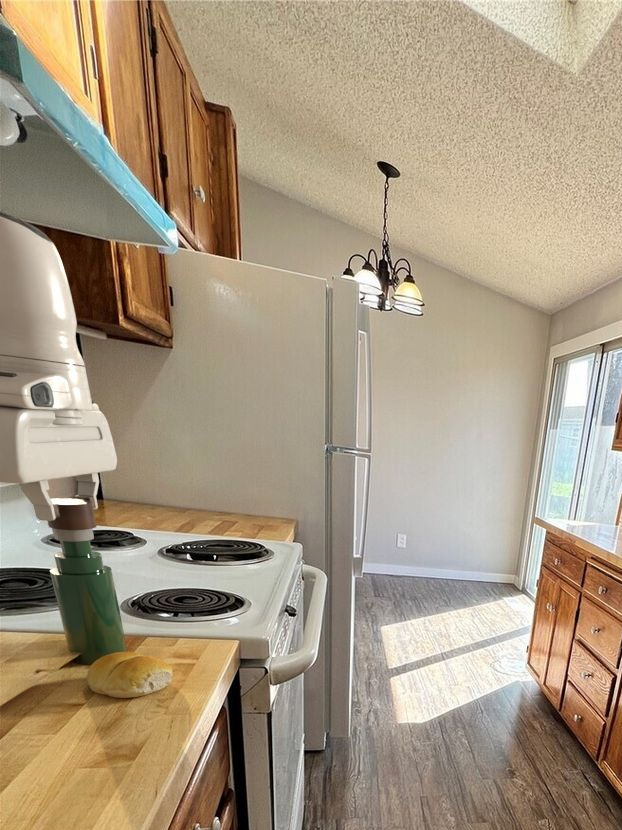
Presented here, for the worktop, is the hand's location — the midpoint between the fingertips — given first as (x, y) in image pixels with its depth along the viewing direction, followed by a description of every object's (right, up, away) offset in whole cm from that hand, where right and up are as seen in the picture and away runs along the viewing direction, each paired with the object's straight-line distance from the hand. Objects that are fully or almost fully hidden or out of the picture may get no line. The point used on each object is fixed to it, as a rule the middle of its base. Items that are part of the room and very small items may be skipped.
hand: (69, 514), depth 69 cm
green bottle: (-2, -17, +8) cm, 19 cm away
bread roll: (+7, -21, +1) cm, 22 cm away
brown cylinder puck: (0, -1, +1) cm, 1 cm away
